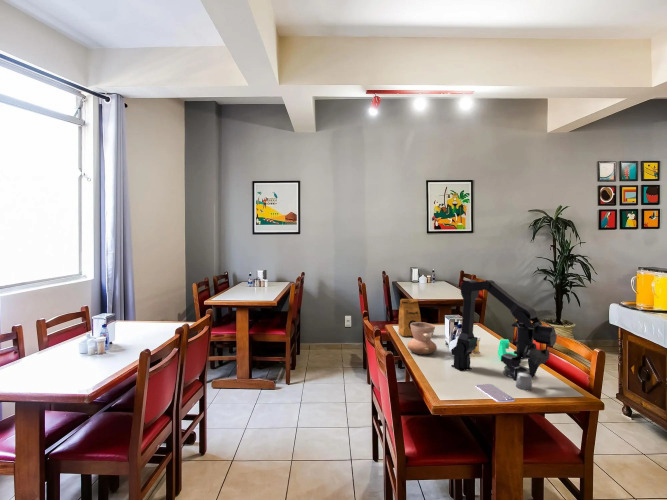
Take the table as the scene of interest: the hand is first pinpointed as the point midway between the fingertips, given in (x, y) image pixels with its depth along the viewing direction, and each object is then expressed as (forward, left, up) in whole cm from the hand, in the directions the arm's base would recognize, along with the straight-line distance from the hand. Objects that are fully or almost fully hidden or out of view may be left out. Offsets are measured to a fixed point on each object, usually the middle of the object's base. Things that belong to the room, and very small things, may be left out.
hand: (523, 379), depth 147 cm
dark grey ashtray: (+9, +11, -3) cm, 15 cm away
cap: (0, 0, -3) cm, 3 cm away
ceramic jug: (-11, +52, -4) cm, 53 cm away
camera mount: (+21, +26, -4) cm, 34 cm away
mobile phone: (-15, 0, -4) cm, 15 cm away
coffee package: (+1, +81, -4) cm, 81 cm away
